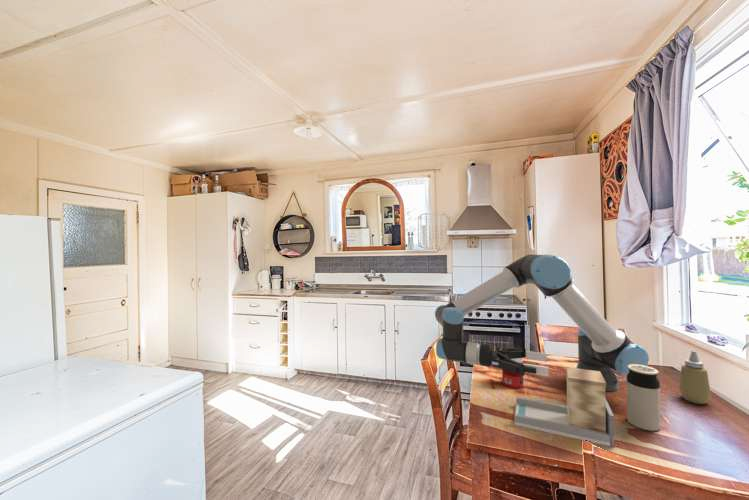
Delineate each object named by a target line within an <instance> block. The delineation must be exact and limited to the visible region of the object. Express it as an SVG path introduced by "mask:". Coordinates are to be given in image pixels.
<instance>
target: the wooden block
mask: <svg viewBox="0 0 749 500" xmlns="http://www.w3.org/2000/svg"><path fill="white" fill-rule="evenodd" d="M565 373H566V406H567V417H568V422H569V425H570V426H575V427H580V428H584V429H589V430H594V431H598V432H603V433H606V401H605V398H606V391H605V387H606V382H605V380H604V378H603V376H602V374H601V372H600V371H593V370H586V369H578V368H576V367H569V366H565Z"/></svg>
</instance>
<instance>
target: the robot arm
mask: <svg viewBox="0 0 749 500" xmlns="http://www.w3.org/2000/svg"><path fill="white" fill-rule="evenodd" d="M571 272H572V271H571V267H570V265H569V263H568V262H567V261H566V260H565V259H563V258H562V257H559V256H556V255H552V254H527V255H524V256H522V257H520V258H518V259H517V260H514V261H513V262H511V263H510V264H509V265H507V266H505V267H503V268H502V271H501V272H500V273H498V274H497V275H495V276H493V277H491V278H489V279H488V280H486V281H485V282H483V283H481V284H479V285H477V286H475V287H474V288H473V289H471V290H469V291H468V292H466V293H464V294H462V295H461V296H459V297H457V298H456V299H454V300H453V301H451V302H448V303H447V304H446V305H445V304H444V305H443V304H441V305H439V306H437V307H436V308H435V310H434V316H435V317H434V318H435V319H436V321H437V322H438V323H439V325H440V326H441V327H442V337H441V338H438V339H437V341H436V347H435V353H436V356H437V358H439V359H441V360H445V361H448V362H449V361H451V362H457V363H464V364H470V365H471V366H473V365H475V366H476V365H477V366H479V365H480V366H481V367H488V368H490V367H493V368H497V369H501V370H502V369H504V370H507V371H510V372H513V373H515V374H518V375H522V376H523V377H524V376H526V375H525V374H530V375H536V376H542V377H549V366H544V365H538V364H537V365H536V364H530V363H523V364H521V363H519V362H516V361H514V360H512V359H516V358H522V359H523V358H525V359H526V360H529V361H530V360H531V361H537V362H546V363H547V362H548V359H547V358H548V354H547V353H546V352H539V351H532V350H526V349H527V348H526V347H523V348H522V347H509V348H508V347H504V348H503V347H496V348H495V349H494V350H493V345H492V344H485V343H481V344H480V343H479V342H471V341H465V340H464V319H465V318H464V317H465V316H467V315H468V314H470V313H472V312H473V311H475V310H478V309H479V308H480V307H482V306H484V305H486V304H487V303H490V302H491V301H492V300H494V299H496V298H498V297H499V296H501V295H503V294H504V293H506V292H508V291H510V290H512V289H513V288H516V289H518V288H520V287H522V286H524V285H528V284H532V285H535V287H537V289H538V290H539V291H540V292H541V293H542V294H543V295H544V296H545V297H549V298H551V297H552V299H553V300H554V301H555V302H556V303H557V304H558V305H559V307H560V308H561V309H562V311H564V312H565V313H566V315H568V317H569V318H570V319H571V320H572V321H573V322H574V323H575V324H576V325H577V327H579V329H578V332H577V348H578V349H577V351H578V362H577V364H576V367H575V368H578V369H586V370H593V371H600V372H601V374H602V376H603V378H604V380H605V382H606V387H605V392H615V391H618V390H619V389H620V388H619V385H620V384H619V379H618V377H617V374H616V372H617V373H619V374H621V375H624V376H627V374H628V373H629V368H628V367H627V366H628V365H630V364H638V365H645V366H649V361H650V357H649V353H648V352H647V350H646V349H645V348H644V347H643V346H641V345H639V344H637V343H634V342H633V341H632V340H631V339H630V338H629V337H628V336H627V335H626V334H625V333H624V332H623V331H622V330H621V329H616V328H613V326H612V325H611V324H610V323H609V322H608V321H607V320H606V319H605V318H604V316H603V315H602V314H601V313H600V311H598V310H597V309H596V307H595V306H594V305H593V304H592V303H591V302H590V301H589V300H588V298H587V297H586V296H585V295H584V294H583V293H582V291H580V289H578V288H577V286H575V284H574V276H573V275H572V274H571ZM615 371H616V372H615Z"/></svg>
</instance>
